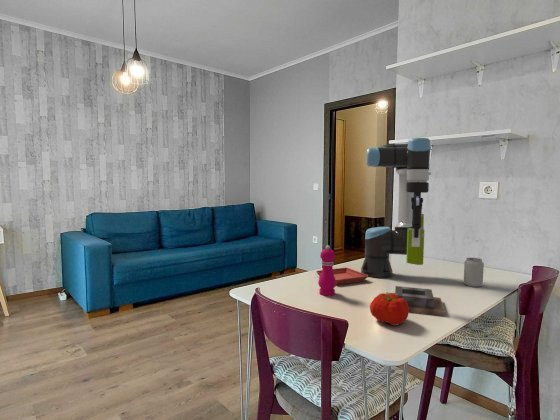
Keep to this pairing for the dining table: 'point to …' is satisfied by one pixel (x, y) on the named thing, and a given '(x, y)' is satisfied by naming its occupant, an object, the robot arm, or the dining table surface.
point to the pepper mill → (327, 272)
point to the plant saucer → (346, 275)
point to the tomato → (389, 308)
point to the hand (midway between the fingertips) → (415, 245)
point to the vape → (415, 252)
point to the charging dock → (429, 311)
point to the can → (473, 272)
